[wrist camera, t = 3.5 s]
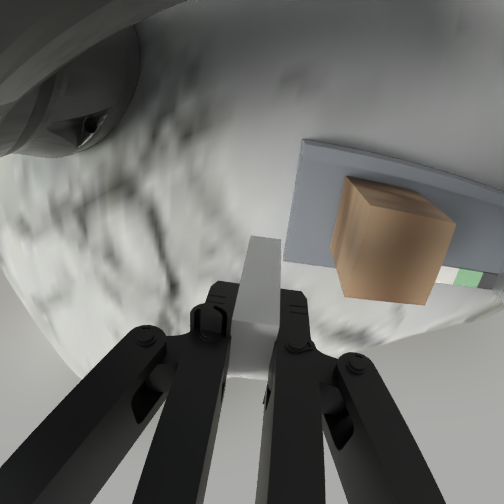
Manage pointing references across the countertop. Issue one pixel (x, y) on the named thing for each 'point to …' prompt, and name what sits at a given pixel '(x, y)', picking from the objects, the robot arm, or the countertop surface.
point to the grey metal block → (500, 284)
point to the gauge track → (406, 176)
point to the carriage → (388, 242)
